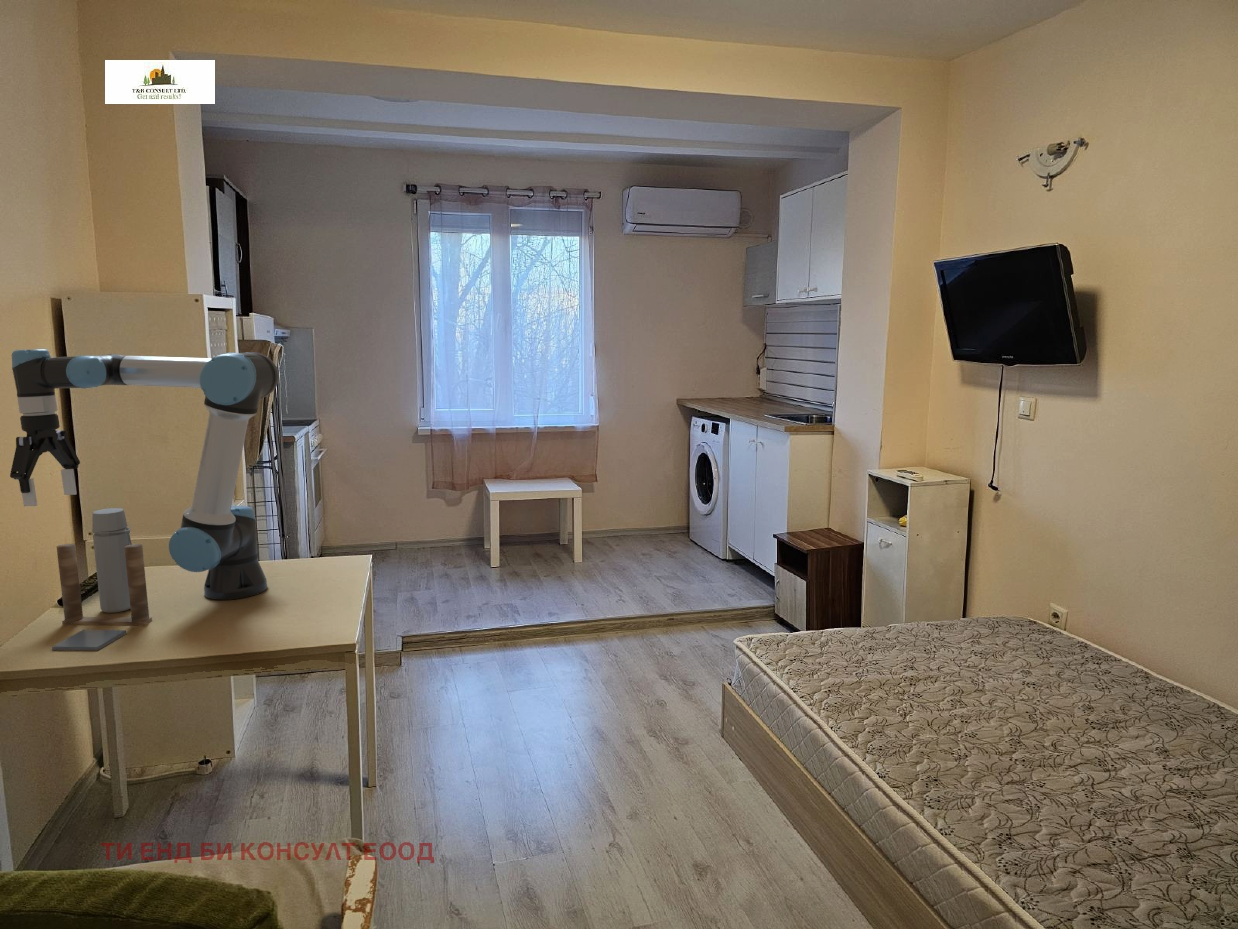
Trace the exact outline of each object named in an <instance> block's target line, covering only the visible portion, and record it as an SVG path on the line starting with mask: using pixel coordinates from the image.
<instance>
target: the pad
mask: <svg viewBox="0 0 1238 929" xmlns="http://www.w3.org/2000/svg"><path fill="white" fill-rule="evenodd" d="M125 635H127V630H126V629H82V630H80V631H78V632H76V633H75V634H73V635H71V636H69V637H67V638H65V639H64V640H61V641H60V642H57V643H56V644H54V645H53V646H51V650H52V651H89V652H90V651H91V652H92V651H94V652H95V651H97V652H98V651H100V650H102V649H103V648H105V647H106V646H108V645H110V644H111V643H113V642H115V641H117V640H118V639H120V638H122V637H123V636H125Z"/></svg>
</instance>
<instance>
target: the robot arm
mask: <svg viewBox="0 0 1238 929" xmlns="http://www.w3.org/2000/svg"><path fill="white" fill-rule="evenodd" d="M11 365H12V366H11V370H12V374H13V379H14V380H13V381H14V383H15V389H16V397H17V406H18V411H19V414H22V415H21V416H20V418H19V419H20V426H21V430H22V431H23V432H26V436H16V438H15V450H14V455H13V459H12V464H11V469H10V474H9V476H10V478H11V479H13V480H17V481H18V483H19V490H20V493H21V496H22V502H23V503H22V504H23V507H36V506H38V499H37V494H36V488H35V487H36V486H35V480H34V478H31V476H32V474H33V472H34V469H35V468H36V465H37V463H38V460H39V458H40V456H42V454H44V453H47V452H49V453H50V455H52V456H53V457H54V458H55V460H56V461H57V462H58V463H59V465H60V466H61V467H62V468H63V469H60V473H61V481H62V488H63V495H64V496H69V495H70V496H74V495H77V486H76V473H75V469H78V468H79V465H80V464H81V460H80V459H79V457H78V454H77V453H76V451H75V450H74V447H73V445H72V443H71V442H70V440H69V437H68V433H67V430H58V429H59V428H60V427H61V426H60V419H59V418H60V417H59V414H57V413H56V412H57V411H58V410H59V409H58V405H57V404H58V403H57V397H56V392H55V391H56V390H55V389H90V388H91V389H92V388H99V387H101V386H138V387H139V386H140V387H141V386H143V387H165V388H166V387H167V388H168V387H170V388H171V387H172V388H173V387H174V388H195V389H196V388H200V389H201V390H202V391H203V395H204V401H203V402H204V403H203V405H204V407H206V409H207V410H208V412H209V413H208V419H207V426H206V430H205V434H204V435H205V436H204V440H203V446H202V451H201V457H200V461H199V467H198V472H197V476H196V477H197V478H196V483H195V487H194V493H193V498H192V504H191V506H190V507H188V508H187V509H185V510H184V511H183V513H182V519H181V524H180V528H179V529H177V530H176V531H175V532H174V533H173V534H172V535H171V537H170V538H169V542H168V552H169V555H170V557H171V559H172V560H174V562H175V563H176V565H177V566H179V567H180V568H181V569H183V570H184V571H188V572H191V573H202V572H205V571H207V575H206V578H205V582H204V586H203V592H204V597H205V598H207V599H210V600H211V599H212V600H221V601H223V600H224V601H225V600H227V601H228V600H237V599H243V598H249V597H252V596H255V595H259V594H261V593H263V592H265V591H266V590H267V588H268V582H267V581H268V580H267V578H266V575H265V573H264V571H263V568H262V566H261V564H260V561H259V557H258V556H259V555H258V539H257V525H256V524H257V523H256V521H257V518H256V516H255V510H254V508H253V507H252V506H248V505H247V506H246V505H233V500H234V495H235V490H236V485H237V484H236V483H237V481H238V480H237V479H238V475H239V469H240V464H241V460H242V454H243V450H244V445H245V440H246V434H247V430H248V429H247V428H248V425H249V420H250V419H251V418H253V417H255V416H257V414H258V409H259V404H260V399H263V398H266V397H268V396H269V395H271V394H272V393H273V392H274V391H275V389H276V388H277V386H278V384H279V381H280V380H279V378H280V375H279V374H280V373H279V369H278V367H277V365H276V364H275V362H274V361H273V360H272V359H271V358H270V357H269V356H267V355H264V354H262V353H259V352H253V351H252V352H251V351H250V352H226V353H222V354H219V355H216V356H213V357H212V358H211V357H209V358H208V357H207V358H206V357H179V356H175V357H174V356H149V355H148V356H146V355H121V354H114V353H113V354H107V355H103V354H102V355H76V356H75V355H73V356H72V355H71V356H59V357H58V356H51V354H50V351H49V350H48V349H46V348H43V349H41V348H38V349H36V348H35V349H32V348H31V349H16V350H12V352H11Z"/></svg>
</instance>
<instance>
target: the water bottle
mask: <svg viewBox="0 0 1238 929" xmlns="http://www.w3.org/2000/svg"><path fill="white" fill-rule="evenodd" d="M91 528H92V529H91V532H92V539H93V551H94V560H95V567H96V568H95V570H96V578H97V579H96V580H97V586H98V587H97V588H98V598H99V599H98V600H99V605H100V606H99V607H100V610H101V611H102V612H103V613H107V614H114V613H115V614H116V613H121V612H125V611H128V610H131V608H130V598H129V588H128V578H127V568H126V558H125V548H124V547H125V546H127V545H133V544H132V540H131V536H130V534H131V530H132V529H131V527H129V526H128V522H127V518H126V512H125V509H123V508H119V507H118V508H117V507H116V508H115V507H114V508H103V509H102V508H101V509H99V510H94V511H92V527H91Z"/></svg>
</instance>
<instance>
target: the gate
mask: <svg viewBox="0 0 1238 929" xmlns="http://www.w3.org/2000/svg"><path fill="white" fill-rule="evenodd" d="M143 547H144V546H143V544H140V543H133V544H132V545H127V546H125V547H124V548H125V558H126V568H127V578H128V588H129V598H130V616H131V617H130V616H129V617H126V616H125V617H121V616H115V617H114V616H113V617H109V616H84V611H83V604H82V596H81V587H80V585H81V584H80V575H79V568H78V559H77V550H76V548H77V547H76V544H75V543H64V544H59V545H57V546H56V553H57V561H58V564H57V565H58V571H59V580H60V589H61V598H62V606H63V616H64V620H62V621H61V622H62V625H75V626H77V625H80V626H81V625H83V626H84V625H85V626H88V625H89V626H90V625H91V626H146V625H147V624H149V623H150V622H152V621H153V617H150V610H149V602H148V592H147V591H148V590H147V579H146V569H145V560H144V548H143Z"/></svg>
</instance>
